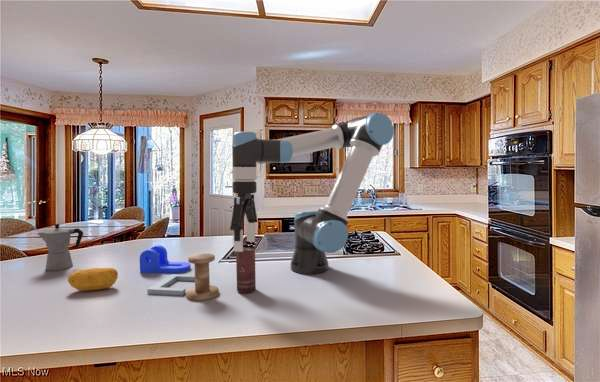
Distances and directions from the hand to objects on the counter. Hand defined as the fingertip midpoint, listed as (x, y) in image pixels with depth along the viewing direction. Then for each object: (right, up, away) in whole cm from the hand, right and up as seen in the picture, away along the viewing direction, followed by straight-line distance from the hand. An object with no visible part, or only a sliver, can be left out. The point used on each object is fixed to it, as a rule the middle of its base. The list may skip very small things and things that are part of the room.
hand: (245, 246), depth 106 cm
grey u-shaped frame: (-24, -15, +5) cm, 29 cm away
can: (0, -15, +1) cm, 15 cm away
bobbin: (-13, -15, -2) cm, 20 cm away
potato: (-51, -15, +3) cm, 53 cm away
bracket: (-35, -14, +24) cm, 45 cm away
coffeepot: (-80, -14, +28) cm, 86 cm away
